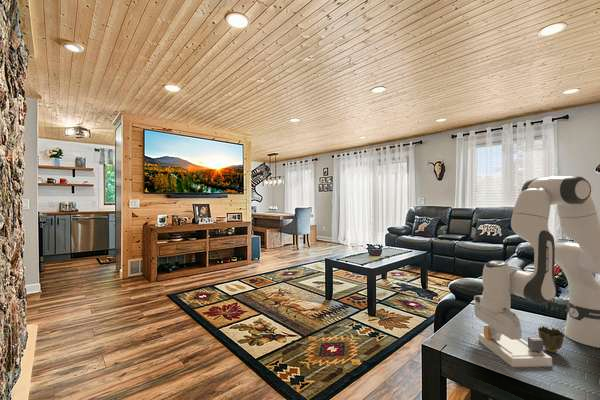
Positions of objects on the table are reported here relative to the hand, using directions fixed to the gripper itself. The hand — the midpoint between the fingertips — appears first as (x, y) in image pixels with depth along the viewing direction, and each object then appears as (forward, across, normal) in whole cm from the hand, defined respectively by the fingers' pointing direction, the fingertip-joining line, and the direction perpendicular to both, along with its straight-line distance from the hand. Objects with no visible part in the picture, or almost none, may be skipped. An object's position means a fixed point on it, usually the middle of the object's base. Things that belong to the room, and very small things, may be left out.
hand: (496, 339), depth 109 cm
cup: (+4, -2, -20) cm, 20 cm away
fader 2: (+1, -7, -10) cm, 12 cm away
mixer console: (+4, -2, -5) cm, 7 cm away
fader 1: (+1, +3, 0) cm, 3 cm away
